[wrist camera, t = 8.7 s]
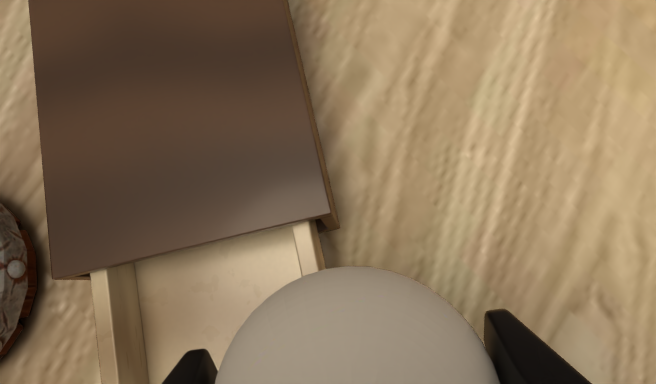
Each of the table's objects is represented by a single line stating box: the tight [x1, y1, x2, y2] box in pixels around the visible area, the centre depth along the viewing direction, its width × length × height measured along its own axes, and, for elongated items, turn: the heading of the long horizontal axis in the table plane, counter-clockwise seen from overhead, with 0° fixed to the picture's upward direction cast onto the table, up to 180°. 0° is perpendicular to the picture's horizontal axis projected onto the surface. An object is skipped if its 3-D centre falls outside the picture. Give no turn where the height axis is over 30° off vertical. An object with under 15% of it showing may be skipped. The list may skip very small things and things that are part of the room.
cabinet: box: [28, 0, 340, 280], centre depth 23 cm, size 17×12×5 cm
